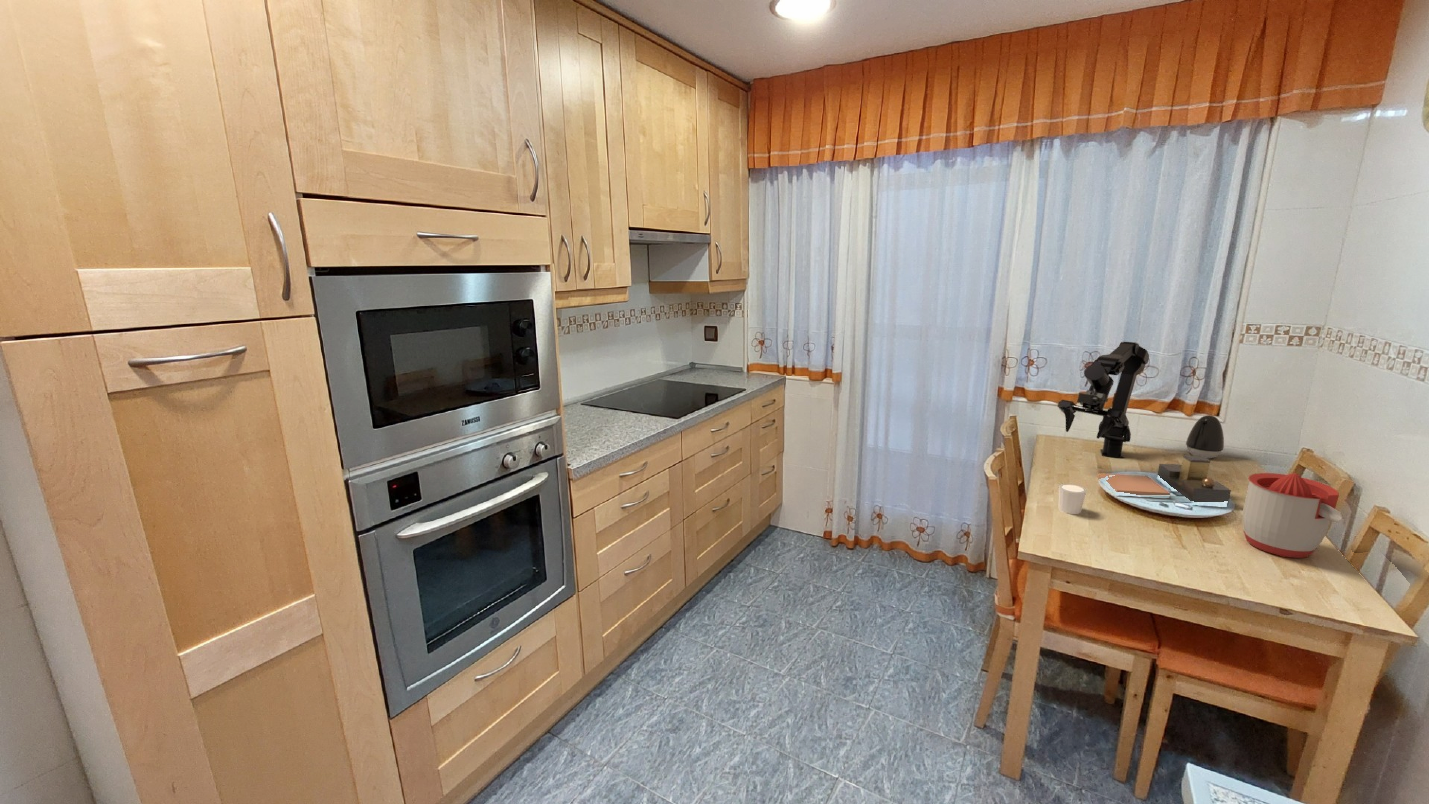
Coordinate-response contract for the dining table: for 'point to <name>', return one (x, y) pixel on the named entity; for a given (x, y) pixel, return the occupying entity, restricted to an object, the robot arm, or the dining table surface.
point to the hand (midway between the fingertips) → (1081, 434)
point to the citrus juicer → (1288, 513)
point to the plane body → (1194, 485)
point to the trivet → (1134, 484)
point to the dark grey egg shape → (1206, 437)
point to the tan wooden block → (1194, 468)
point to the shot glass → (1071, 498)
